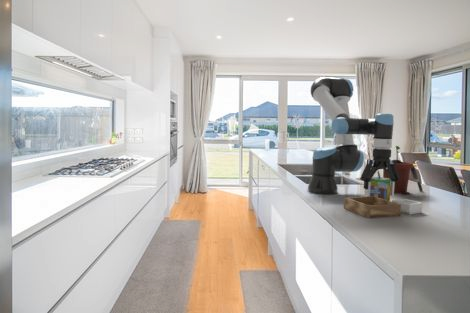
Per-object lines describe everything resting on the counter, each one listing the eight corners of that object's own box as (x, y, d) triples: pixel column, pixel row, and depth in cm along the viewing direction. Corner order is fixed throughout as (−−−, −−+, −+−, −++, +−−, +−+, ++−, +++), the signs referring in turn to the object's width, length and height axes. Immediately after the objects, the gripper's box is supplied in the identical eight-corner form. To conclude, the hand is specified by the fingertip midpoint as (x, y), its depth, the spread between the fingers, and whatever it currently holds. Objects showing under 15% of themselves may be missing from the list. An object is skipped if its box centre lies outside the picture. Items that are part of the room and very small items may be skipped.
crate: (343, 208, 135) (344, 197, 134) (373, 206, 139) (374, 196, 139) (368, 217, 120) (368, 206, 120) (400, 215, 125) (401, 204, 124)
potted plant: (380, 186, 188) (383, 144, 186) (422, 191, 178) (426, 146, 176) (378, 191, 172) (381, 145, 170) (424, 196, 162) (428, 148, 160)
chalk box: (388, 206, 139) (391, 173, 137) (366, 203, 143) (368, 171, 142) (390, 202, 147) (392, 171, 145) (368, 200, 151) (371, 169, 150)
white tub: (391, 209, 134) (392, 200, 134) (403, 207, 138) (404, 198, 137) (409, 214, 127) (409, 204, 127) (421, 212, 130) (422, 202, 130)
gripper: (364, 148, 136) (361, 198, 138) (410, 149, 143) (407, 196, 145) (353, 147, 143) (350, 194, 145) (397, 148, 150) (394, 193, 152)
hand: (379, 195), depth 145 cm, fingers closed on chalk box, 12 cm apart
